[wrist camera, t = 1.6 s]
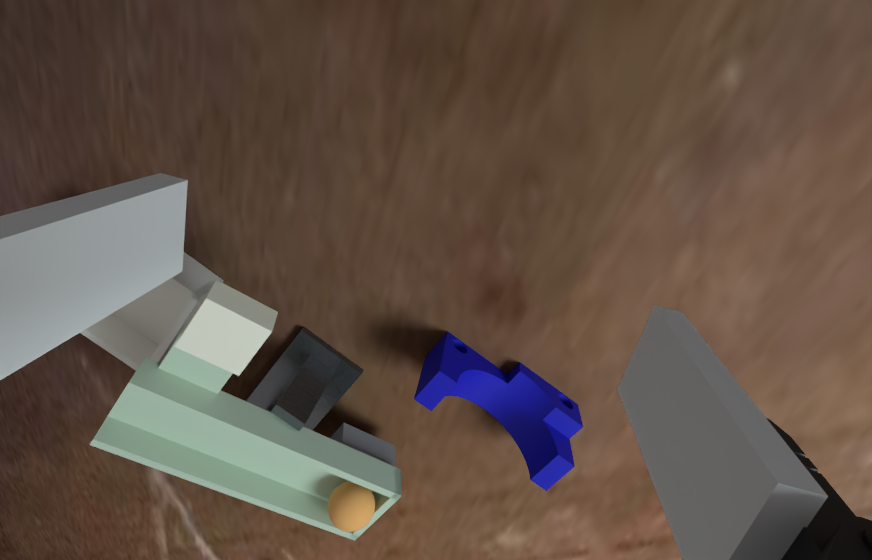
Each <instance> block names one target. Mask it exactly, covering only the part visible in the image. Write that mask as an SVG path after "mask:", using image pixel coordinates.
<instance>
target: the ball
mask: <svg viewBox="0 0 872 560" xmlns="http://www.w3.org/2000/svg"><path fill="white" fill-rule="evenodd" d="M374 511H375V499H374V495H373V493H372V491H371V490H370V489H368V488H365V487H363V486H360V485H358V484H355V483H353V482H351V481H347V482H344V483H342V484H340V485H339V486H338V487H337V488H336V489H335V490H334V491H333V492H332V494H331V496H330V498H329V502H328V514H329V517H330V520H331V521H332V523H333V524H334V525H335V526H336V527H337V528H338V529H340V530H343V531H347V532H354V531H358V530H360V529H362V528H363V527H365V526H366V525H367V524H368V523H369V522H370V520H371V518H372V517H373V514H374Z"/></svg>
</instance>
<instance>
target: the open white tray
mask: <svg viewBox="0 0 872 560" xmlns="http://www.w3.org/2000/svg"><path fill="white" fill-rule="evenodd" d="M216 280H217V281H219V282H221V283H222V282H223V281H224V280H222V279H221V278H220V277H218V276H217V275H215V274H214V273H213V272H211V271H210V270H208V269H207V268H206V267H204V266H203V265H202V264H200V263H199V262H197V261H196V260H195V259H193V258H192V257H191V256H189V255H188V254H186V253H185V252H183V270H182V272H180V273H179V274H177V275H175V276H174V277H172V278H170V279H169V280H167V281H165V282H164V283H162V284H160V285H159V286H157V287H155V288H154V289H152V290H150V291H149V292H147V293H145V294H144V295H142V296H140V297H139V298H137V299H135V300H134V301H132V302H130V303H129V304H127V305H125V306H124V307H122V308H120V309H119V310H117V311H115V312H114V313H112V314H110V315H109V316H107V317H105V318H103V319H102V320H100V321H98V322H97V323H95V324H93V325H92V326H90V327H88V328H87V329H85V330H83V331H82V332H80V333H81V334H82V335H84V336H85V337H87V338H88V339H90V340H91V341H93V342H94V343H96V344H97V345H99V346H100V347H102V348H103V349H105V350H106V351H108V352H109V353H111V354H112V355H114V356H115V357H117V358H118V359H119V360H121V361H122V362H124V363H125V364H127V365H128V366H130V367H131V368H133V369H134V370H137V369H138V367H139V366H140V364H141V362H142V361H143V359H144V358H145V357H146V358H148V359H151V360H153V361H155V362H157V363H161V362H162V360H163V359H164V357H165V356H166V354H167V353H168V351H169V350H170V348H171V347H172V345H173V344H174V342H175V341H176V339H177V337H178V336H179V334H180V333H181V331H182V330H183V328H184V327H185V325H186V324H187V322H188V321H189V319H190V318H191V316H192V315H193V313H194V312H195V310H196V308H197V307H198V305H199V304H200V302H201V301H202V299H203V298H204V296H205V295H206V293H207V292H208V291H209V290H210V288H211V287H212V285H213V284H214V282H215V281H216Z"/></svg>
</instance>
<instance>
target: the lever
mask: <svg viewBox="0 0 872 560" xmlns="http://www.w3.org/2000/svg"><path fill="white" fill-rule="evenodd" d="M277 314H278V312H277V311H275V310H273V309H271V308H269V307H267V306H265V305H263V304H261V303H260V302H258V301H256V300H254V299H252V298H250V297H248V296H246V295H244V294H242V293H240V292H238V291H237V290H235V289H233V288H231V287H229V286H227V285H225V284H223V283H221V282H219V281H217V280H216V281H215V282H214V284H213V285H212V287H211V288H210V290H209V291H208V292H207V293H206V295H205V296H204V298H203V299H202V301H201V302H200V304H199V305H198V307H197V308H196V310H195V312H194V313H193V315H192V316H191V318H190V319H189V321H188V322H187V324H186V325H185V327H184V328H183V330H182V331H181V333H180V334H179V336H178V337H177V339H176V341H175V342H174V344H173V345H172V347H171V348H170V350H169V351H168V353H167V354H166V356H165V357H164V359H163V360H162V362H161V363H157V362H155V361H153V360H151V359H148V358H146V357H145V358H144V359H143V361H142V362H141V364H140V366H139V367H138V369H137V370H136V372H135V373H134V375H133V377H132V378H131V380H130V381H129V383H128V384H127V386H126V388H125V389H124V391H123V392H122V394H121V396H120V397H119V399H118V400H117V402H116V403H115V405H114V407H113V408H112V410H111V411H110V413H109V415H108V416H107V418H106V419H105V421H104V423H103V424H102V426H101V427H100V429H99V431H98V432H97V434H96V435H95V437H94V439H93V440H92V442H91V444H90V445H91V446H94V447H97V448H100V449H102V450H105V451H108V452H111V453H114V454H116V455H119V456H122V457H125V458H127V459H130V460H133V461H136V462H139V463H141V464H144V465H147V466H150V467H152V468H155V469H158V470H161V471H163V472H166V473H169V474H172V475H175V476H177V477H180V478H183V479H186V480H188V481H191V482H194V483H197V484H200V485H202V486H205V487H208V488H211V489H213V490H216V491H219V492H222V493H224V494H227V495H230V496H233V497H236V498H238V499H241V500H244V501H247V502H249V503H252V504H255V505H258V506H261V507H263V508H266V509H269V510H272V511H274V512H277V513H280V514H283V515H285V516H288V517H291V518H294V519H297V520H299V521H302V522H305V523H308V524H310V525H313V526H316V527H319V528H321V529H324V530H327V531H330V532H333V533H335V534H338V535H341V536H344V537H346V538H349V539H352V540H356V539H357V538H358V537H359V536H360V535H361V534H362V533H363V532H364V531H365V530H366V529H368V528H369V527H370V526H371V525H372V524H373V523H374V522H375V521H376V520H377V519H378V518H379V517H380V516H381V515H382V514H383V513H384V512H385V511H386V510H387V509H389V508H390V507H391V506H392V505H393V504H394V503H395V502H396V501H397V500H398V499H399V498H400V497H401V496H402V492H401V469H399V468H396V457H395V446H394V445H392V444H390V443H388V442H385V441H383V440H381V439H379V438H377V437H375V436H372V435H370V434H368V433H366V432H364V431H361V430H359V429H357V428H355V427H353V426H351V425H348V424H346V423H343V424H342V425H341V426H340V427H339V428H338V429H337V431H336V432H335V433H334V434H333V435H332V436H331V437H330V438H328V437H326V436H323V435H321V434H319V433H317V432H314V431H312V430H310V429H308V428H305V427H302V429H301V430H300V431H298V430H296V429H295V428H293V427H292V426H290V425H289V424H288V423H286V422H285V421H283V420H282V419H280V418H279V417H277V416H276V415H275V414H273V413H271V412H269V411H267V410H264V409H262V408H260V407H257V406H255V405H253V404H251V403H248V402H246V401H244V400H242V399H239V398H237V397H235V396H232V395H230V394H228V393H226V392H223V391H221V389H222V387H223V386H224V385H225V383H226V382H227V381H228V379H229V378H230V377H231V375H232V374H235V375H237V376H239V375H240V374H241V373H242V371H243V370H244V369H245V367H246V366H247V365H248V363H249V362H250V361H251V359H252V358H253V357H254V355H255V354H256V353H257V351H258V350H259V349H260V347H261V346H262V345H263V343H264V342H265V340H266V339H267V338H268V336H269V335H270V334H271V332H272V330H273V327H274V324H275V321H276V317H277ZM347 481H351V482H353V483H355V484H358V485H360V486H363V487H365V488H368V489H370V490H371V491H372V493H373V495H374V499H375V511H374V514H373V517H372V518H371V520H370V522H369V523H368V524H367V525H366V526H365V527H363V528H362V529H360V530H358V531H354V532H347V531H343V530H340V529H338V528H337V527H336V526H335V525H334V524H333V523H332V521H331V520H330V517H329V514H328V502H329V498H330V496H331V494H332V492H333V491H334V490H335V489H336V488H337V487H338V486H339V485H340V484H342V483H344V482H347Z"/></svg>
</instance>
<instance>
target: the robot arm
mask: <svg viewBox="0 0 872 560" xmlns="http://www.w3.org/2000/svg"><path fill="white" fill-rule="evenodd" d="M187 181H188V180H185V179H181V178H177V177H174V176H170V175H166V174H162V173H159V174H156V175H152V176H148V177H144V178H141V179H137V180H133V181H130V182H126V183H122V184H118V185H115V186H111V187H107V188H104V189H100V190H96V191H92V192H89V193H85V194H81V195H78V196H74V197H70V198H66V199H63V200H59V201H55V202H52V203H48V204H44V205H40V206H37V207H33V208H29V209H26V210H22V211H18V212H14V213H11V214H7V215H3V216H0V380H1V379H3V378H5V377H6V376H8V375H10V374H11V373H13V372H15V371H16V370H18V369H20V368H22V367H23V366H25V365H27V364H28V363H30V362H32V361H33V360H35V359H37V358H38V357H40V356H42V355H43V354H45V353H47V352H48V351H50V350H52V349H53V348H55V347H57V346H58V345H60V344H62V343H63V342H65V341H67V340H68V339H70V338H72V337H73V336H75V335H77V334H78V333H80V332H82V331H83V330H85V329H87V328H88V327H90V326H92V325H93V324H95V323H97V322H98V321H100V320H102V319H103V318H105V317H107V316H109V315H110V314H112V313H114V312H115V311H117V310H119V309H120V308H122V307H124V306H125V305H127V304H129V303H130V302H132V301H134V300H135V299H137V298H139V297H140V296H142V295H144V294H145V293H147V292H149V291H150V290H152V289H154V288H155V287H157V286H159V285H160V284H162V283H164V282H165V281H167V280H169V279H170V278H172V277H174V276H175V275H177V274H179V273H180V272H182V270H183V252H184V234H185V216H186V199H187ZM617 390H618V393H619V395H620V398H621V400H622V403H623V406H624V408H625V411H626V413H627V416H628V419H629V421H630V424H631V426H632V429H633V432H634V434H635V437H636V439H637V442H638V445H639V447H640V450H641V453H642V455H643V458H644V460H645V463H646V466H647V468H648V471H649V473H650V476H651V479H652V481H653V484H654V486H655V489H656V492H657V494H658V497H659V499H660V502H661V505H662V507H663V510H664V512H665V515H666V518H667V520H668V523H669V526H670V528H671V531H672V533H673V536H674V539H675V541H676V544H677V546H678V549H679V552H680V554H681V557H682V559H683V560H872V521H871V520H868V519H865V518H862V517H856V516H855V515H854V513H853V512H852V511H851V510H850V508H849V507H848V506H847V505H846V504H845V502H844V501H843V500H842V499H841V497H840V496H839V495H838V494H837V493H836V491H835V490H834V489H833V488H832V486H831V485H830V484H829V483H828V482H827V480H826V479H825V478H824V477H823V476H822V474H820V473H817V471H818V469H817V468H816V467H815V466H814V465H813V463H812V462H811V461H810V460H809V458H805V454H804V452H803V451H802V450H801V449H800V447H799V446H798V445H797V444H796V443H795V441H794V440H793V439H792V438H791V437H790V436H789V435H788V434H787V433H785V432H784V431H783V430H782V429H781V428H779V427H778V426H777V425H776V424H774V423H773V422H772V421H771V420H769V419H767V418H766V417H765V416H764V415H763V413H762V412H761V411H760V410H759V408H758V407H757V406H756V405H755V403H754V402H753V401H752V400H751V398H750V397H749V396H748V395H747V393H746V392H745V391H744V390H743V388H742V387H741V386H740V385H739V383H738V382H737V381H736V379H735V378H734V377H733V376H732V374H731V373H730V372H729V371H728V369H727V368H726V367H725V366H724V364H723V363H722V362H721V361H720V359H719V358H718V357H717V356H716V354H715V353H714V352H713V350H712V349H711V348H710V347H709V345H708V344H707V343H706V342H705V340H704V339H703V338H702V337H701V335H700V334H699V333H698V332H697V330H696V329H695V328H694V327H693V325H692V324H691V323H690V321H689V320H688V319H687V318H686V316H685V315H684V314H683V313H682V312H679V311H675V310H671V309H668V308H664V307H660V306H656V305H654V307H653V310H652V312H651V314H650V316H649V319H648V321H647V323H646V325H645V328H644V330H643V332H642V334H641V337H640V339H639V341H638V343H637V346H636V348H635V350H634V352H633V355H632V357H631V359H630V361H629V364H628V366H627V368H626V370H625V373H624V375H623V377H622V379H621V382H620V384H619V386H618V388H617Z"/></svg>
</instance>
